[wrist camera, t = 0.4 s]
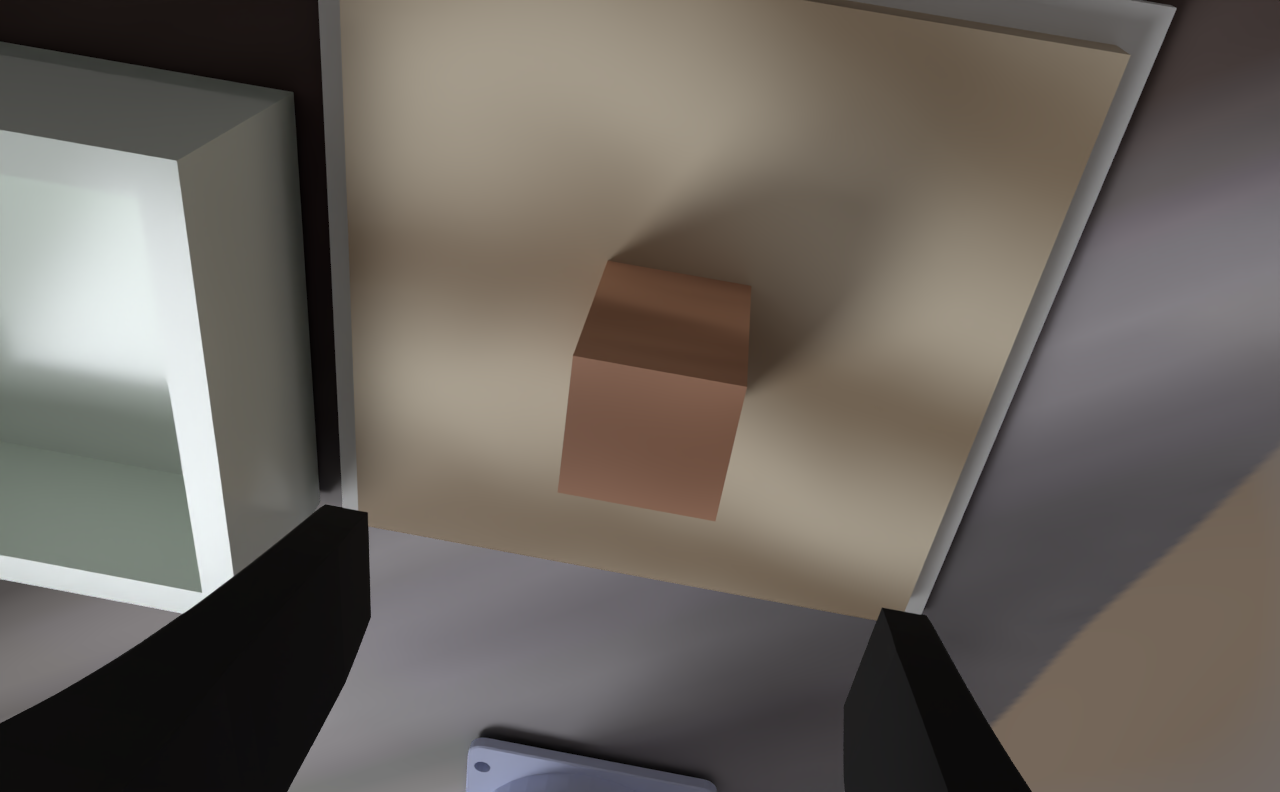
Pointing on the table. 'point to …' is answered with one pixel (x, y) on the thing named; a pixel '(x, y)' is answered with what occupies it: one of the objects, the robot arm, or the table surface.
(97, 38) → the table surface
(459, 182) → the lid
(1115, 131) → the mat
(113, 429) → the open box
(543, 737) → the table surface
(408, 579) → the table surface
